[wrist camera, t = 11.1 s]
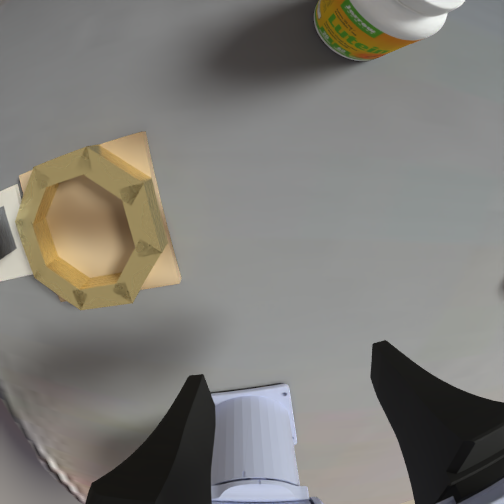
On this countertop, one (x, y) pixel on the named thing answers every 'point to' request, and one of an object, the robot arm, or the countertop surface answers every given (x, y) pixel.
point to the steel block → (5, 235)
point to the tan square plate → (104, 221)
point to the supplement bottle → (378, 24)
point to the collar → (137, 212)
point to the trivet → (17, 259)
